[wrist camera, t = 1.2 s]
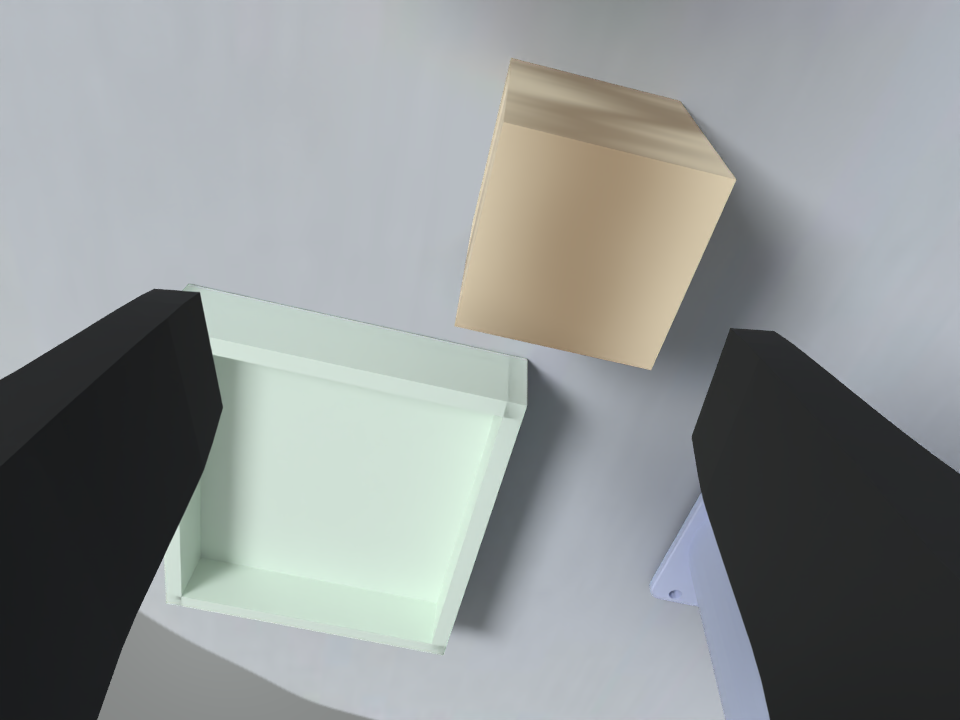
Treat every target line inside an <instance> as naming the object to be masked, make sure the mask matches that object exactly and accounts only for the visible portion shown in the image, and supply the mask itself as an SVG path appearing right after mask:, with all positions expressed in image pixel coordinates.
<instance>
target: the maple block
mask: <svg viewBox="0 0 960 720" xmlns="http://www.w3.org/2000/svg"><path fill="white" fill-rule="evenodd" d="M735 182H736V178H735V177H734V176H733V174H732V173H731V171H730V170H729V169H728V167H727V166H726V165H725V163H724V162H723V160H722V159H721V158H720V156H719V155H718V153H717V152H716V151H715V149H714V148H713V146H712V145H711V144H710V142H709V141H708V139H707V138H706V137H705V135H704V134H703V133H702V131H701V130H700V128H699V127H698V126H697V124H696V123H695V121H694V120H693V119H692V117H691V116H690V114H689V113H688V112H687V110H686V109H685V107H684V106H683V105H682V103H681V102H680V101H678V100H674V99H670V98H666V97H662V96H658V95H655V94H651V93H647V92H643V91H639V90H635V89H631V88H627V87H623V86H619V85H615V84H611V83H607V82H604V81H600V80H596V79H592V78H588V77H584V76H580V75H576V74H572V73H568V72H564V71H560V70H556V69H553V68H549V67H545V66H541V65H537V64H533V63H529V62H525V61H521V60H517V59H513V58H511V61H510V65H509V69H508V73H507V78H506V82H505V86H504V90H503V95H502V99H501V103H500V107H499V112H498V116H497V120H496V125H495V129H494V133H493V137H492V142H491V146H490V150H489V154H488V159H487V163H486V167H485V172H484V176H483V180H482V184H481V189H480V193H479V197H478V201H477V206H476V210H475V214H474V218H473V224H472V229H471V235H470V241H469V247H468V252H467V258H466V264H465V269H464V275H463V281H462V286H461V292H460V298H459V304H458V309H457V315H456V321H455V326H456V327H461V328H465V329H470V330H474V331H479V332H483V333H488V334H492V335H497V336H501V337H505V338H510V339H514V340H519V341H523V342H528V343H532V344H537V345H541V346H546V347H550V348H554V349H559V350H563V351H568V352H572V353H577V354H581V355H586V356H590V357H595V358H599V359H604V360H608V361H612V362H617V363H621V364H626V365H630V366H635V367H639V368H644V369H648V370H651V369H652V367H653V365H654V363H655V360H656V358H657V356H658V354H659V351H660V349H661V347H662V345H663V342H664V340H665V338H666V336H667V333H668V331H669V329H670V327H671V325H672V322H673V320H674V318H675V316H676V313H677V311H678V309H679V307H680V304H681V302H682V300H683V298H684V296H685V293H686V291H687V289H688V287H689V284H690V282H691V280H692V278H693V275H694V273H695V271H696V269H697V267H698V264H699V262H700V260H701V258H702V255H703V253H704V251H705V249H706V246H707V244H708V242H709V240H710V237H711V235H712V233H713V231H714V229H715V226H716V224H717V222H718V220H719V217H720V215H721V213H722V211H723V208H724V206H725V204H726V202H727V200H728V197H729V195H730V193H731V191H732V188H733V186H734V184H735Z"/></svg>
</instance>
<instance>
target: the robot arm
mask: <svg viewBox="0 0 960 720" xmlns="http://www.w3.org/2000/svg"><path fill="white" fill-rule="evenodd" d="M222 410H223V404H222V399H221V394H220V389H219V384H218V379H217V374H216V369H215V364H214V359H213V354H212V349H211V344H210V339H209V334H208V329H207V325H206V320H205V315H204V310H203V305H202V300H201V295H200V292H192V291H177V290H163V289H153V290H151V291H149V292H147V293H145V294H143V295H141V296H139V297H137V298H136V299H134V300H132V301H130V302H129V303H127V304H125V305H124V306H122V307H120V308H119V309H117V310H115V311H114V312H112V313H110V314H109V315H107V316H105V317H104V318H102V319H100V320H99V321H97V322H96V323H94V324H92V325H91V326H89V327H88V328H86V329H84V330H83V331H81V332H79V333H78V334H76V335H75V336H73V337H71V338H70V339H68V340H66V341H65V342H63V343H61V344H60V345H58V346H56V347H55V348H53V349H52V350H50V351H48V352H47V353H45V354H43V355H42V356H40V357H38V358H37V359H35V360H33V361H32V362H30V363H29V364H27V365H25V366H24V367H22V368H20V369H19V370H17V371H15V372H13V373H12V374H10V375H8V376H6V377H4V378H3V379H1V380H0V720H97V718H98V716H99V713H100V710H101V707H102V704H103V701H104V698H105V695H106V693H107V690H108V687H109V684H110V681H111V679H112V676H113V673H114V670H115V667H116V664H117V661H118V659H119V656H120V653H121V650H122V647H123V645H124V643H125V640H126V638H127V636H128V633H129V631H130V629H131V626H132V624H133V621H134V619H135V617H136V614H137V612H138V610H139V608H140V606H141V604H142V602H143V600H144V597H145V595H146V593H147V591H148V589H149V587H150V585H151V583H152V581H153V578H154V576H155V574H156V572H157V570H158V568H159V566H160V564H161V562H162V559H163V557H164V555H165V553H166V551H167V549H168V547H169V545H170V543H171V540H172V538H173V536H174V534H175V532H176V530H177V528H178V526H179V524H180V521H181V519H182V517H183V515H184V513H185V511H186V509H187V506H188V504H189V502H190V500H191V498H192V496H193V493H194V491H195V489H196V487H197V485H198V483H199V480H200V478H201V476H202V474H203V471H204V469H205V466H206V463H207V459H208V456H209V453H210V450H211V447H212V444H213V441H214V437H215V434H216V430H217V427H218V424H219V420H220V417H221V413H222ZM692 442H693V448H694V454H695V460H696V466H697V472H698V477H699V482H700V487H701V494H700V495H699V497H698V499H697V501H696V503H695V504H694V506H693V508H692V510H691V511H690V513H689V515H688V517H687V518H686V520H685V522H684V524H683V525H682V527H681V529H680V531H679V533H678V534H677V536H676V538H675V540H674V541H673V543H672V545H671V547H670V548H669V550H668V552H667V554H666V555H665V557H664V559H663V561H662V563H661V564H660V566H659V568H658V570H657V571H656V573H655V575H654V577H653V578H652V580H651V582H650V585H649V586H650V592H651V594H652V595H653V596H654V597H656V598H658V599H663V600H668V601H673V602H678V603H683V604H688V605H693V606H698V607H699V610H700V615H701V619H702V623H703V627H704V632H705V636H706V640H707V644H708V648H709V653H710V657H711V661H712V665H713V670H714V674H715V678H716V682H717V687H718V691H719V695H720V699H721V703H722V708H723V712H724V716H725V720H960V474H959V473H958V472H956V471H955V470H954V469H952V468H951V467H949V466H948V465H947V464H945V463H944V462H942V461H941V460H940V459H938V458H937V457H935V456H934V455H933V454H931V453H930V452H929V451H927V450H926V449H925V448H924V447H922V446H921V445H920V444H918V443H917V442H916V441H914V440H913V439H912V438H910V437H909V436H908V435H906V434H905V433H904V432H903V431H901V430H900V429H899V428H897V427H896V426H895V425H894V424H892V423H891V422H890V421H888V420H887V419H886V418H885V417H883V416H882V415H881V414H880V413H878V412H877V411H876V410H875V409H873V408H872V407H871V406H870V405H868V404H867V403H866V402H865V401H863V400H862V399H861V398H860V397H858V396H857V395H856V394H855V393H853V392H852V391H851V390H850V389H848V388H847V387H846V386H845V385H844V384H842V383H841V382H840V381H839V380H837V379H836V378H835V377H834V376H832V375H831V374H830V373H829V372H828V371H826V370H825V369H824V368H823V367H821V366H820V365H819V364H818V363H816V362H815V361H814V360H813V359H811V358H810V357H809V356H807V355H806V354H805V353H804V352H802V351H801V350H800V349H798V348H797V347H796V346H795V345H793V344H792V343H791V342H789V341H788V340H786V339H785V338H783V337H782V336H781V335H779V334H778V333H776V332H775V331H764V330H749V329H734V328H730V331H729V333H728V336H727V339H726V342H725V345H724V348H723V350H722V353H721V356H720V359H719V362H718V364H717V367H716V370H715V373H714V376H713V378H712V381H711V384H710V387H709V390H708V392H707V395H706V398H705V401H704V404H703V406H702V409H701V412H700V415H699V418H698V420H697V423H696V426H695V429H694V432H693V434H692Z"/></svg>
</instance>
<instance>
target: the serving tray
mask: <svg viewBox="0 0 960 720" xmlns="http://www.w3.org/2000/svg"><path fill="white" fill-rule="evenodd" d="M182 291H192V292H200V295H201V300H202V305H203V310H204V315H205V320H206V325H207V329H208V334H209V339H210V344H211V349H212V354H213V359H214V364H215V369H216V374H217V379H218V384H219V389H220V394H221V399H222V404H223V410H222V413H221V417H220V420H219V424H218V427H217V430H216V434H215V437H214V441H213V444H212V447H211V450H210V453H209V456H208V459H207V463H206V466H205V469H204V471H203V474H202V476H201V478H200V480H199V483H198V485H197V487H196V489H195V491H194V493H193V496H192V498H191V500H190V502H189V504H188V506H187V509H186V511H185V513H184V515H183V517H182V519H181V521H180V524H179V526H178V528H177V530H176V532H175V534H174V536H173V538H172V540H171V543H170V545H169V547H168V549H167V551H166V553H165V555H164V568H165V588H166V603H168V604H173V605H178V606H184V607H189V608H194V609H199V610H205V611H210V612H215V613H221V614H226V615H231V616H237V617H242V618H247V619H253V620H258V621H263V622H269V623H274V624H279V625H285V626H290V627H295V628H301V629H306V630H311V631H317V632H322V633H327V634H333V635H338V636H343V637H349V638H354V639H359V640H365V641H370V642H375V643H381V644H386V645H391V646H396V647H402V648H407V649H412V650H418V651H423V652H428V653H434V654H439V655H444V652H445V649H446V646H447V643H448V640H449V637H450V634H451V631H452V628H453V625H454V622H455V619H456V616H457V613H458V610H459V607H460V604H461V602H462V599H463V596H464V593H465V590H466V587H467V584H468V581H469V578H470V575H471V572H472V569H473V566H474V563H475V560H476V557H477V554H478V551H479V548H480V545H481V542H482V539H483V536H484V533H485V530H486V527H487V524H488V521H489V518H490V515H491V512H492V509H493V506H494V503H495V500H496V497H497V494H498V491H499V488H500V485H501V482H502V479H503V476H504V473H505V470H506V467H507V464H508V461H509V458H510V455H511V452H512V449H513V446H514V443H515V440H516V437H517V435H518V432H519V429H520V426H521V423H522V420H523V417H524V414H525V411H526V408H527V359H524V358H520V357H515V356H511V355H506V354H502V353H497V352H493V351H488V350H484V349H479V348H475V347H470V346H466V345H461V344H457V343H452V342H448V341H443V340H439V339H434V338H430V337H425V336H421V335H416V334H412V333H407V332H403V331H398V330H394V329H389V328H385V327H380V326H376V325H371V324H367V323H362V322H358V321H353V320H349V319H344V318H340V317H335V316H331V315H326V314H322V313H317V312H313V311H308V310H304V309H299V308H295V307H290V306H286V305H281V304H277V303H272V302H268V301H263V300H259V299H254V298H250V297H245V296H241V295H236V294H232V293H227V292H223V291H218V290H214V289H209V288H205V287H200V286H196V285H191V284H188V285H187V286H186V287H185V288H184V289H183V290H182Z"/></svg>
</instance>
